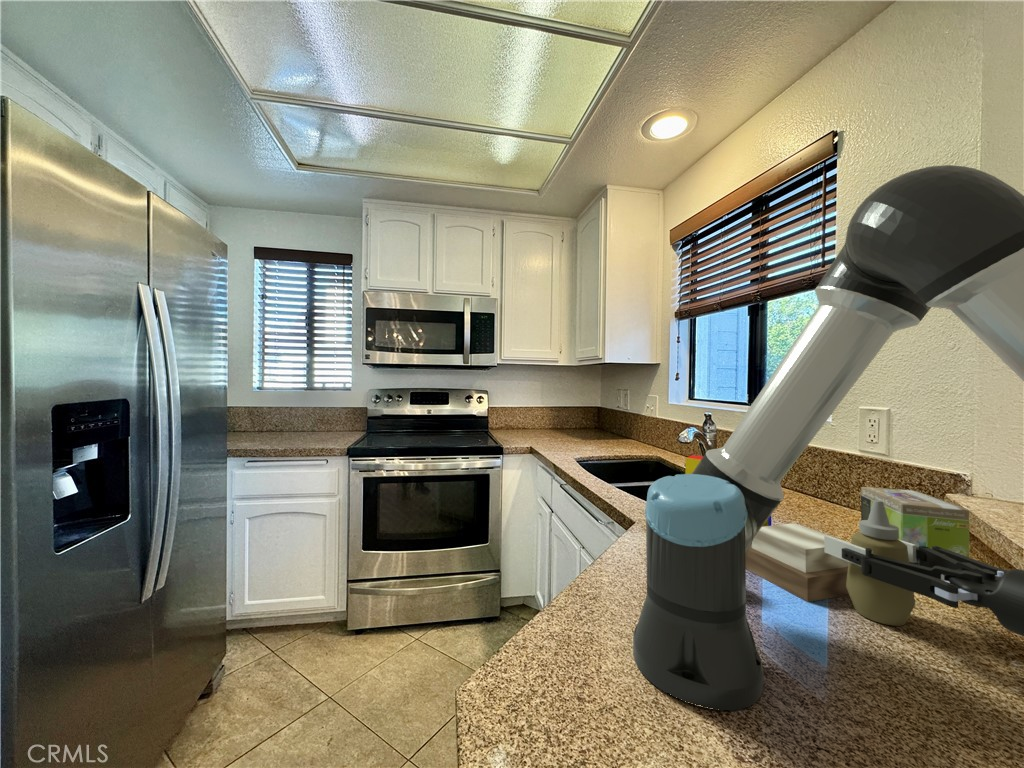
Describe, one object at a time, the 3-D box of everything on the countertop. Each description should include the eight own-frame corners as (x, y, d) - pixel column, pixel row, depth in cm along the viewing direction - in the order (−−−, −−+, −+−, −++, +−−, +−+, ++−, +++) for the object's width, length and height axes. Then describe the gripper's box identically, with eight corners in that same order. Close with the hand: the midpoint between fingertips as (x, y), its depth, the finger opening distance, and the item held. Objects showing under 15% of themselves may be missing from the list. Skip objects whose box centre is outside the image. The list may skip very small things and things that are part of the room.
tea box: (973, 593, 69) (972, 509, 69) (900, 584, 72) (900, 503, 73) (917, 558, 83) (916, 488, 84) (858, 552, 87) (858, 484, 87)
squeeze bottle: (906, 611, 63) (905, 499, 64) (924, 638, 57) (923, 512, 57) (841, 597, 68) (840, 492, 68) (850, 620, 61) (850, 503, 61)
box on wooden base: (807, 601, 66) (807, 554, 66) (739, 565, 80) (739, 525, 80) (869, 591, 70) (868, 545, 70) (794, 558, 83) (793, 520, 83)
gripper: (1000, 665, 42) (797, 570, 64) (1116, 634, 47) (893, 556, 69) (999, 594, 42) (797, 524, 64) (1115, 571, 48) (892, 513, 69)
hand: (847, 541), depth 67 cm, fingers open, 9 cm apart
